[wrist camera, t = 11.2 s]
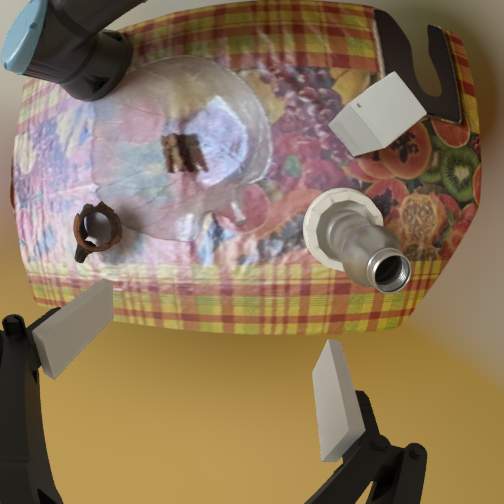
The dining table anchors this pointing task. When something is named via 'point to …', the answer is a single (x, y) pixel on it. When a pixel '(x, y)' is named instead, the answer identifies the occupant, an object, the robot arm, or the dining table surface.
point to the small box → (377, 116)
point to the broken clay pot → (82, 234)
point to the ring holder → (321, 213)
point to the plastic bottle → (368, 252)
